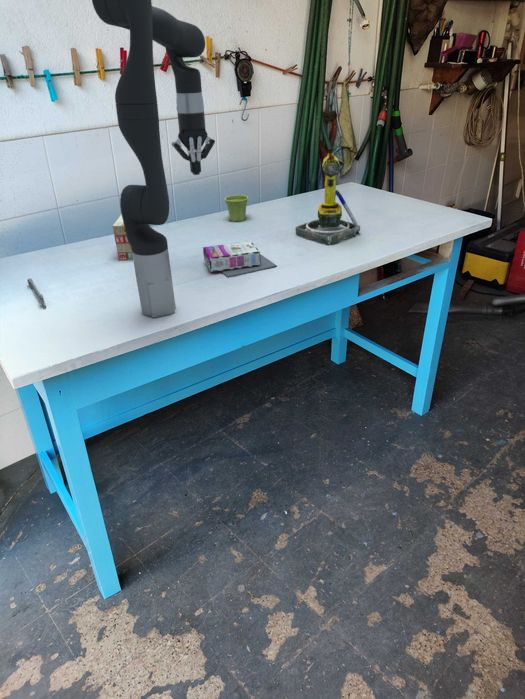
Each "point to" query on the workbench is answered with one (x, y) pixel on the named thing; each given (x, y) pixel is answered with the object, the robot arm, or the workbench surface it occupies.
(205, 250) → the candy bar box
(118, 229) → the stack of blocks
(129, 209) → the robot arm
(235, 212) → the plant pot
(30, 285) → the combination wrench
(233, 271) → the rubber mat
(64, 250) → the workbench surface
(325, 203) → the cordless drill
